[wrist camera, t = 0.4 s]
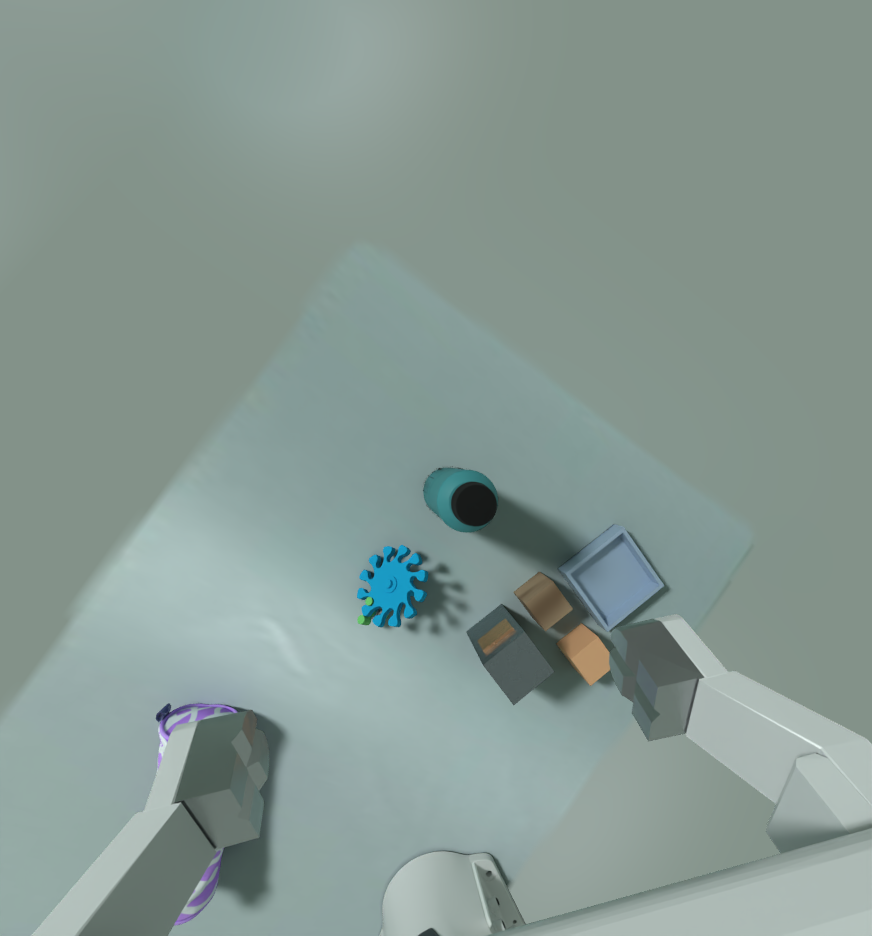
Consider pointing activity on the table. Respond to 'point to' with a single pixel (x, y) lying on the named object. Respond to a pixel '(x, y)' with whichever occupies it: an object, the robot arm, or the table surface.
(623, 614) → the tray
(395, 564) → the gear
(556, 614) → the walnut block
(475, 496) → the beverage bottle
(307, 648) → the table surface
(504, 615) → the box
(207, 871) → the pencil case
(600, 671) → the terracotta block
